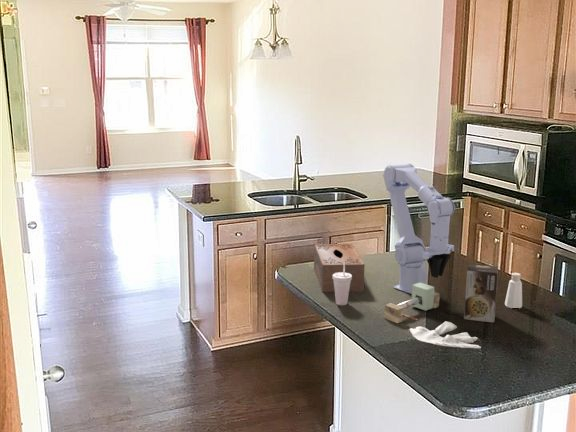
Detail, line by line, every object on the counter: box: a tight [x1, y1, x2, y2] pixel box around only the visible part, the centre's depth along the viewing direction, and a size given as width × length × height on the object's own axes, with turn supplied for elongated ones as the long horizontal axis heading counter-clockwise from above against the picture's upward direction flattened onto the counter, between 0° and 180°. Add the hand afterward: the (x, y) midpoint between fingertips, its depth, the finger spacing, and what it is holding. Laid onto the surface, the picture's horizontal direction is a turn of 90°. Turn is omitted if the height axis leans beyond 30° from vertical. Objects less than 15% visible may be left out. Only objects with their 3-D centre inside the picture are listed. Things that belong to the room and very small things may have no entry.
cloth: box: [409, 320, 482, 349], centre depth 176 cm, size 20×22×2 cm
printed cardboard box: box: [463, 263, 499, 324], centre depth 187 cm, size 9×6×16 cm
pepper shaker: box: [504, 272, 523, 309], centre depth 197 cm, size 5×5×11 cm
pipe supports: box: [384, 291, 440, 324], centre depth 192 cm, size 21×10×4 cm, turn 131°
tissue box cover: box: [313, 243, 365, 293], centre depth 222 cm, size 26×14×10 cm, turn 4°
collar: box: [411, 283, 436, 312], centre depth 195 cm, size 4×6×7 cm
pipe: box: [389, 296, 422, 314], centre depth 192 cm, size 21×2×2 cm, turn 131°
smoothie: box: [332, 262, 352, 306], centre depth 198 cm, size 6×6×14 cm
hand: (436, 276), depth 198 cm, fingers closed
